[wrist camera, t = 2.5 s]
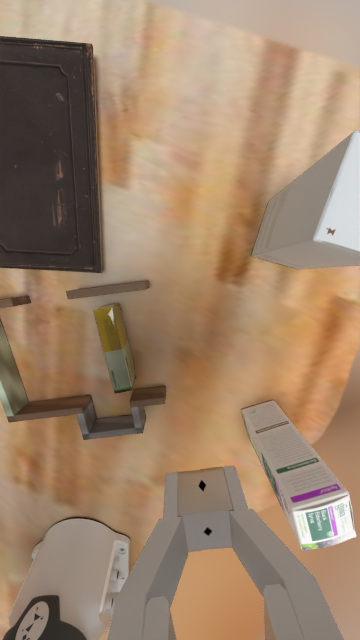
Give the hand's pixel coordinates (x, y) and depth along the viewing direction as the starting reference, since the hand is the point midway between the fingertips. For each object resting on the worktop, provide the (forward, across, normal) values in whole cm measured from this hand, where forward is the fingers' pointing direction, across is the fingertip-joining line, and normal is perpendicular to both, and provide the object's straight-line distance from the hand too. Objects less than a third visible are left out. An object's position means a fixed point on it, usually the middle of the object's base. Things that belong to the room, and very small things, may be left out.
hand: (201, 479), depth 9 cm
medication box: (+22, -10, 0) cm, 24 cm away
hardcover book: (+22, -16, +23) cm, 35 cm away
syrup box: (+21, +11, -16) cm, 29 cm away
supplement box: (+21, +15, +12) cm, 29 cm away
